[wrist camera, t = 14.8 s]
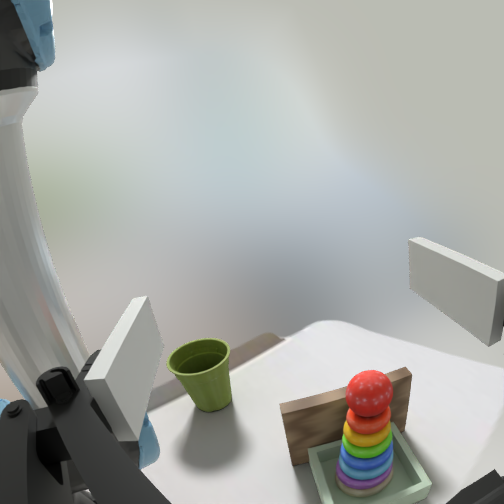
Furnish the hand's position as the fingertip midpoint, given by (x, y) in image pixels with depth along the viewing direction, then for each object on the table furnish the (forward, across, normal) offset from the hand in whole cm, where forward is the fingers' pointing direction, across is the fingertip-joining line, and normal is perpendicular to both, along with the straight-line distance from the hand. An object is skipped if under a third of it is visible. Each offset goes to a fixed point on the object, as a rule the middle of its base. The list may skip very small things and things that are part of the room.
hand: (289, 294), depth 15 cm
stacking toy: (+10, +8, -34) cm, 36 cm away
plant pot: (+36, -13, -35) cm, 52 cm away
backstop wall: (+17, +8, -35) cm, 40 cm away
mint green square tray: (+9, +8, -35) cm, 37 cm away
